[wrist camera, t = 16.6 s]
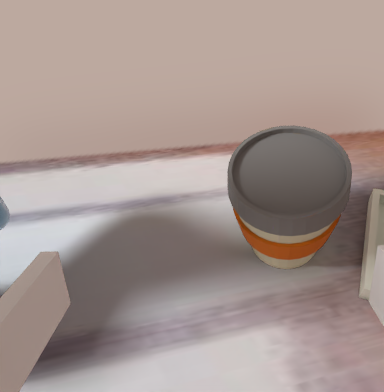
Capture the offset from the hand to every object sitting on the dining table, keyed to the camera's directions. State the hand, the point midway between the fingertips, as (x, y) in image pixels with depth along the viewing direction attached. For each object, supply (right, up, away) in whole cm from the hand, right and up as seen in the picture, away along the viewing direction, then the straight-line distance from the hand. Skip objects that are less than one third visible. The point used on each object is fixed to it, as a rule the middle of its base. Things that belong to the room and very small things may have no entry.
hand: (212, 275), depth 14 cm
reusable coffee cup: (+12, -2, +32) cm, 34 cm away
